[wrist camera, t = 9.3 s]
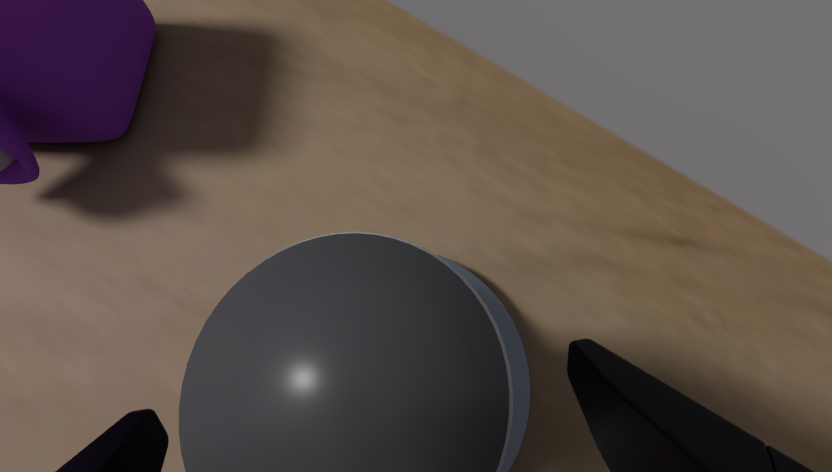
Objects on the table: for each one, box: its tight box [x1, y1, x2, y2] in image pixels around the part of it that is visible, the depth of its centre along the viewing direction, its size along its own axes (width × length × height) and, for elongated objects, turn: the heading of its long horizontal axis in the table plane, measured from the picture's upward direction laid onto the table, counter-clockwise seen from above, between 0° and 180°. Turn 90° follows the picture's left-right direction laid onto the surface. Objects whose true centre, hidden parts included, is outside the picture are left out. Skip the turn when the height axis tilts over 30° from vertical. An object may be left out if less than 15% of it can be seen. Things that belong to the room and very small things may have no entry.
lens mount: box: [437, 255, 531, 472], centre depth 17 cm, size 12×12×3 cm
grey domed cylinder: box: [179, 232, 513, 472], centre depth 12 cm, size 5×5×12 cm
